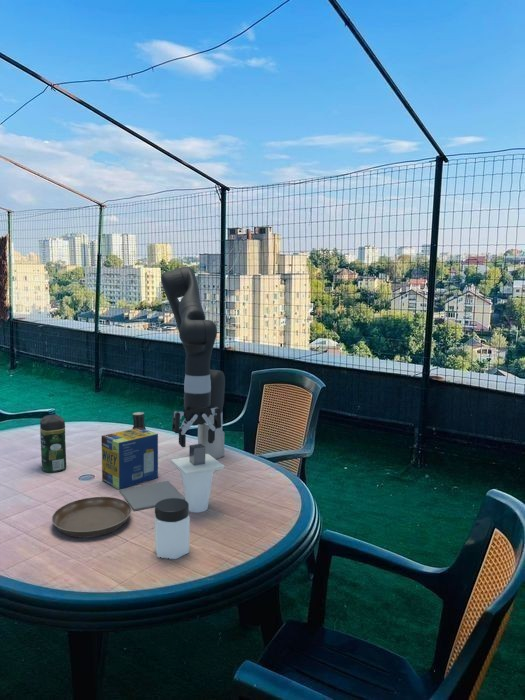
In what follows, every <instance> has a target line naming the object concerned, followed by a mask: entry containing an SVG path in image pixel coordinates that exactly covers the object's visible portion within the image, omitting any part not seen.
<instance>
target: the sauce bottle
mask: <svg viewBox="0 0 525 700" xmlns="http://www.w3.org/2000/svg"><path fill="white" fill-rule="evenodd" d="M132 418H133V419H132V420H133V422H132V423H133V424H132V425H133V427H132V428H131V429H134V428H138V427H141V428H144V429H146V430H147V428H146V425H145V412H143V411H137V412H132Z"/></svg>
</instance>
